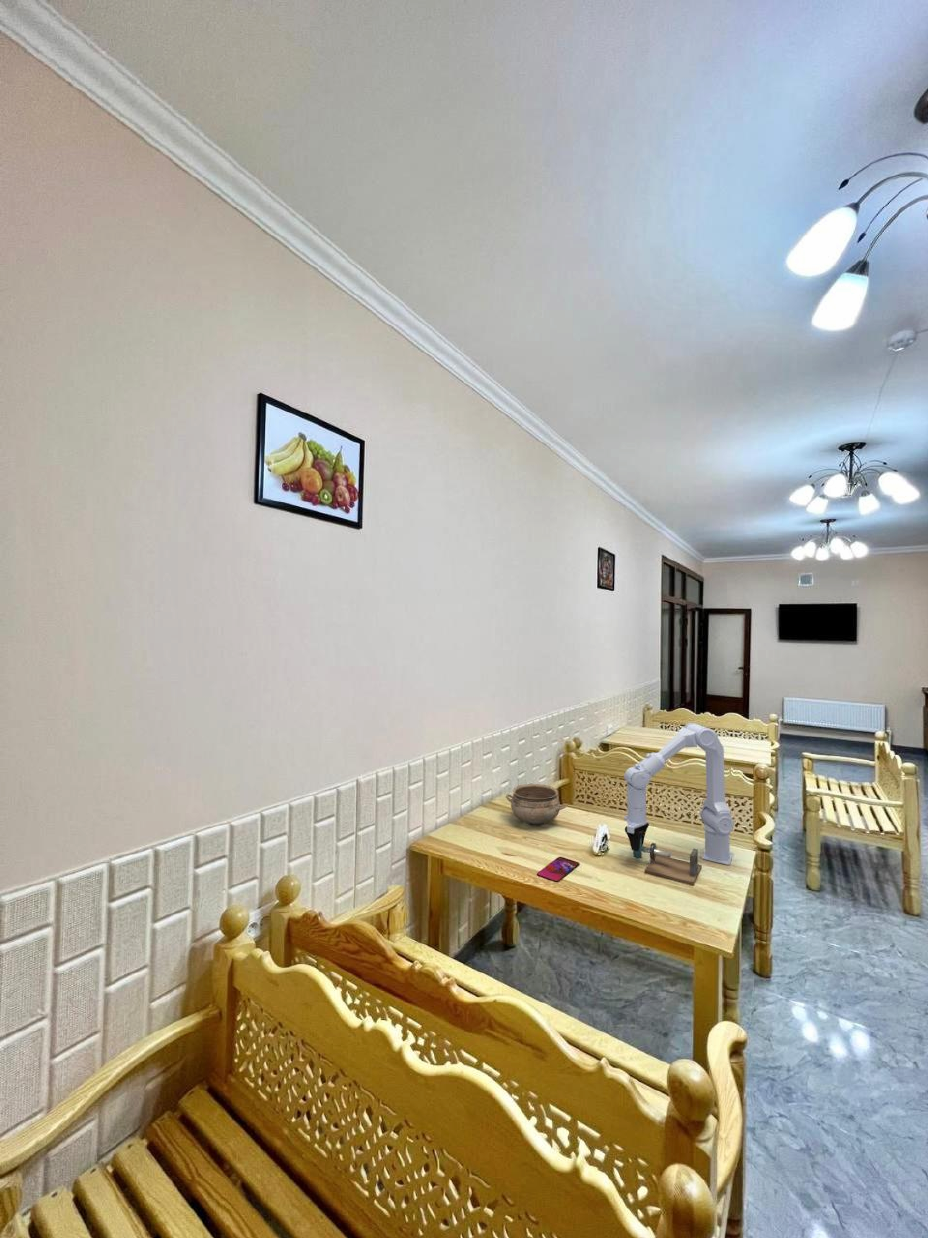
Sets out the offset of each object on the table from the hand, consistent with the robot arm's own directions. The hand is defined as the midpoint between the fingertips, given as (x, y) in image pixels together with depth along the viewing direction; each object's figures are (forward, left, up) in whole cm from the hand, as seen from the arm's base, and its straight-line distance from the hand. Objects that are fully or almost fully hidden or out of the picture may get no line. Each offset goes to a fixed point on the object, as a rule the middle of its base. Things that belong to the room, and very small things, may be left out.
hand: (637, 848), depth 164 cm
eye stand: (0, +11, -4) cm, 12 cm away
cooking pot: (-11, -42, -5) cm, 44 cm away
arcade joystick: (0, +4, -3) cm, 5 cm away
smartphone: (+19, -19, -5) cm, 27 cm away
